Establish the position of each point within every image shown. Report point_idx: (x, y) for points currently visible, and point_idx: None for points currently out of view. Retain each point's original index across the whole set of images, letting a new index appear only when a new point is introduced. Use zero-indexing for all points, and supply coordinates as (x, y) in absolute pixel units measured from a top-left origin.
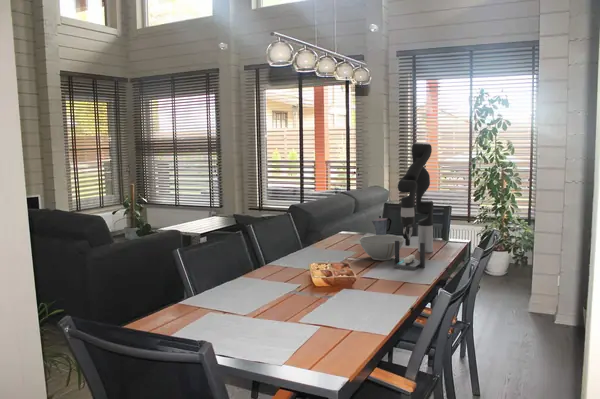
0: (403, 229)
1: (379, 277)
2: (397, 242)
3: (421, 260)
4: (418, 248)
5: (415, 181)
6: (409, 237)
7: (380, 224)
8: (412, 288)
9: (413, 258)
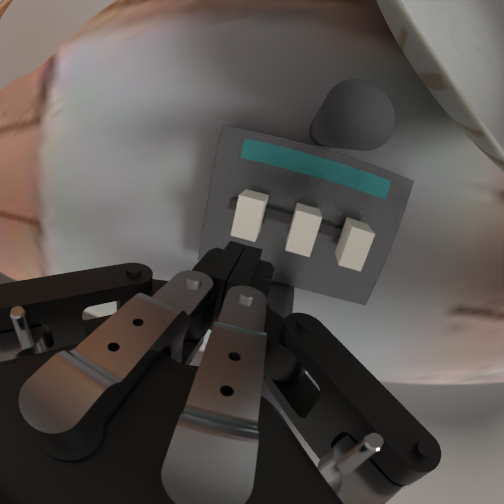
0: (49, 366)
1: (54, 115)
2: (325, 123)
3: None
4: None
5: None
6: (196, 350)
7: None
8: (14, 251)
9: (337, 253)
